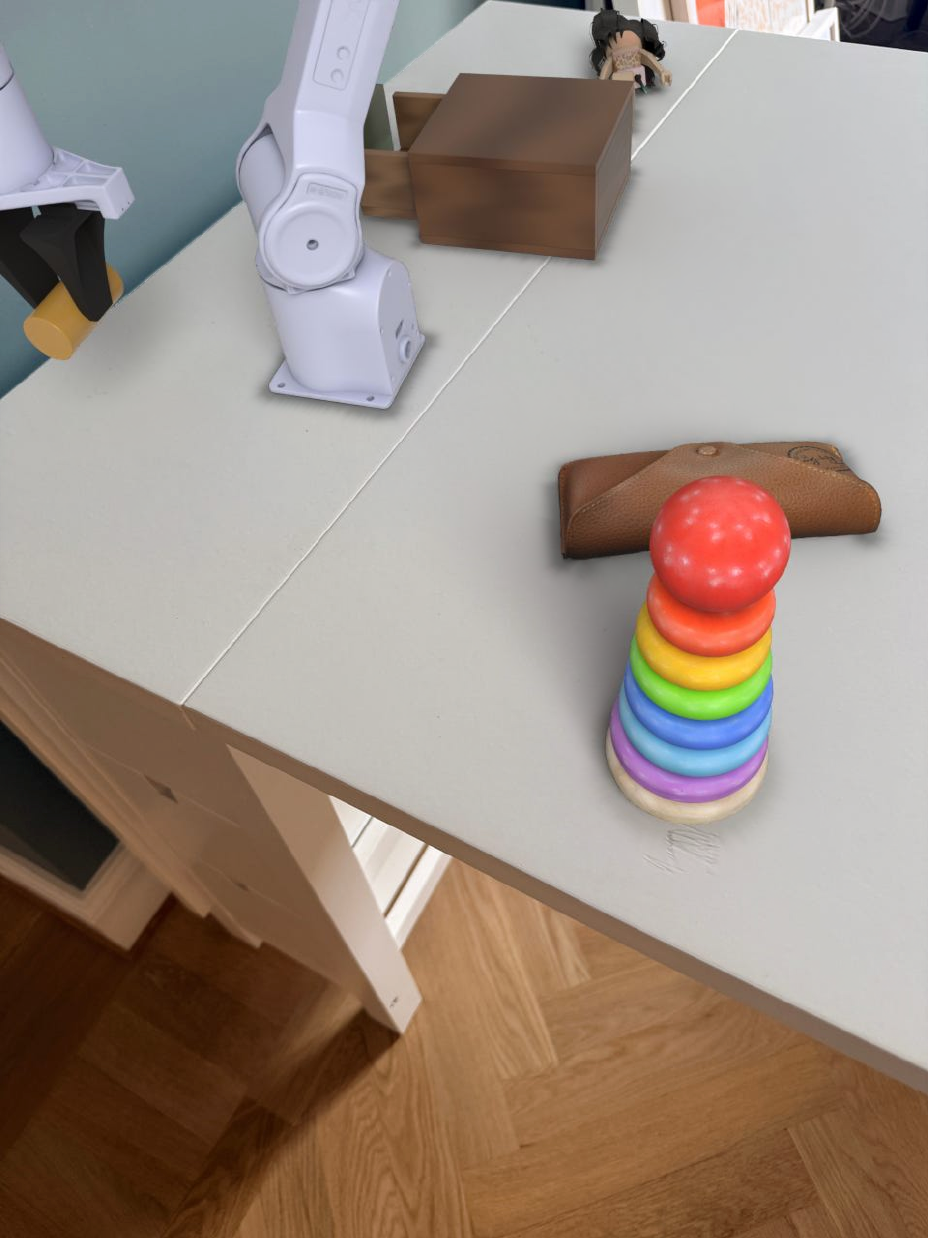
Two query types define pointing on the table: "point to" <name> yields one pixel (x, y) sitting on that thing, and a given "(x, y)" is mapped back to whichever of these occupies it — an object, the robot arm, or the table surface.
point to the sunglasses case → (643, 481)
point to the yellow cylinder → (64, 320)
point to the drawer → (393, 152)
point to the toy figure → (627, 50)
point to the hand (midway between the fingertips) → (75, 308)
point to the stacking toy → (702, 655)
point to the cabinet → (523, 163)
